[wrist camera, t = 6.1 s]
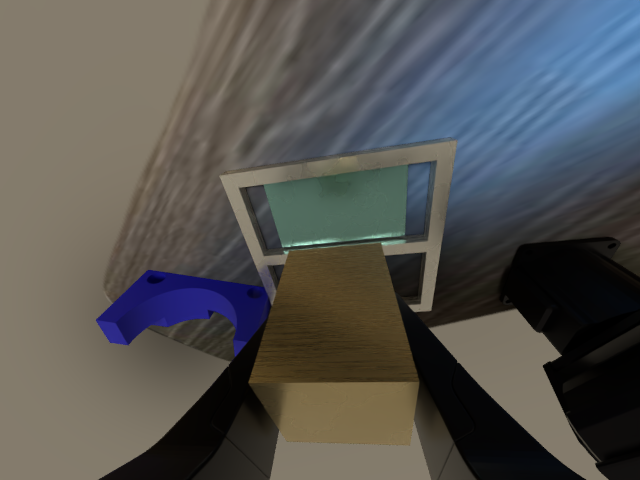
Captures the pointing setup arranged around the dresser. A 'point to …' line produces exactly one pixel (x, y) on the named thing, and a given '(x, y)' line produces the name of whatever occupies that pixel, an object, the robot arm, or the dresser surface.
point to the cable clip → (184, 306)
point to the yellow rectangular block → (337, 351)
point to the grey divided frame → (347, 206)
